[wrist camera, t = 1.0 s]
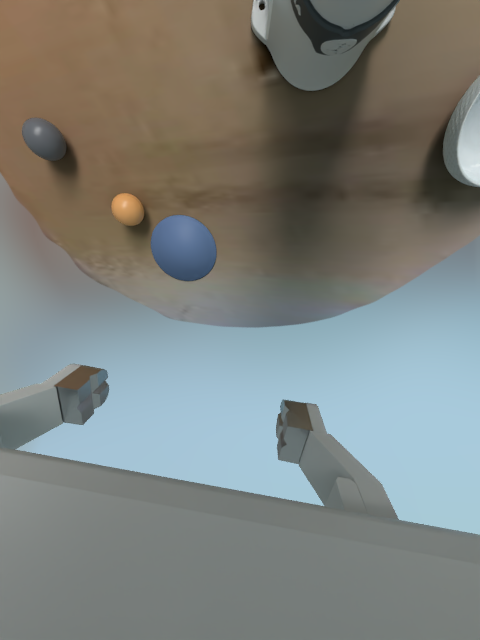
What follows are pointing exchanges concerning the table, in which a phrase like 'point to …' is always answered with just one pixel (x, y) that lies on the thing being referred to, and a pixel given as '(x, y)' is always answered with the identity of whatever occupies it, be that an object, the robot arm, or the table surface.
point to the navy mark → (183, 247)
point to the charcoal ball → (44, 139)
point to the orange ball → (127, 209)
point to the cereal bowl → (464, 138)
